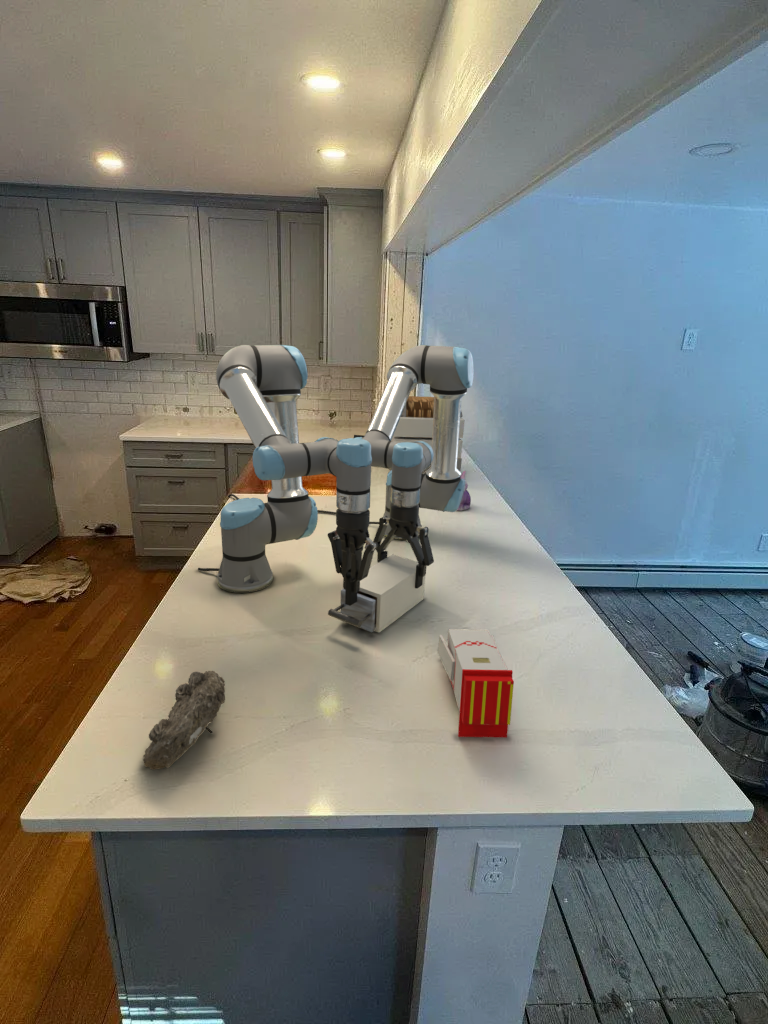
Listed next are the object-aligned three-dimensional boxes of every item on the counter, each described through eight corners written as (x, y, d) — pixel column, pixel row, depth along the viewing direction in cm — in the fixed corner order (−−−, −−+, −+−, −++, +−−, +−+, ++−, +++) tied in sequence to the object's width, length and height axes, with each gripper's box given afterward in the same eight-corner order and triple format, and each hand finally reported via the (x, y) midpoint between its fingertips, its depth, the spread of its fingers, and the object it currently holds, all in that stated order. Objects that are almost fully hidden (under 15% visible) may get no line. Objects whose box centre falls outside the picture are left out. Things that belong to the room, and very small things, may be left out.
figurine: (457, 512, 223) (460, 476, 218) (443, 504, 231) (446, 469, 226) (477, 509, 227) (480, 473, 222) (462, 502, 236) (465, 467, 230)
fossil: (173, 672, 114) (226, 639, 109) (207, 702, 116) (260, 672, 111) (117, 763, 94) (178, 728, 89) (159, 797, 97) (220, 765, 92)
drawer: (358, 642, 132) (359, 610, 130) (326, 629, 137) (326, 598, 134) (415, 600, 153) (416, 572, 150) (385, 589, 158) (386, 562, 155)
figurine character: (364, 456, 306) (364, 446, 320) (364, 442, 303) (365, 433, 317) (351, 455, 306) (352, 446, 320) (352, 442, 303) (353, 433, 316)
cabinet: (379, 632, 139) (380, 594, 135) (344, 618, 144) (344, 581, 141) (423, 598, 156) (426, 564, 152) (391, 587, 161) (392, 553, 158)
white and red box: (488, 613, 130) (523, 677, 101) (484, 667, 133) (517, 744, 104) (435, 612, 130) (455, 676, 101) (432, 666, 133) (451, 743, 103)
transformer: (382, 463, 289) (386, 382, 275) (445, 464, 293) (451, 384, 279) (390, 482, 257) (394, 392, 243) (460, 483, 261) (468, 394, 247)
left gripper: (319, 506, 127) (319, 600, 135) (367, 519, 120) (364, 617, 128) (340, 498, 133) (339, 589, 141) (386, 510, 126) (382, 604, 134)
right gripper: (359, 497, 149) (357, 573, 156) (437, 517, 137) (430, 598, 144) (375, 490, 155) (372, 564, 162) (451, 509, 143) (444, 587, 150)
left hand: (351, 602), depth 134 cm, fingers closed
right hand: (400, 580), depth 153 cm, fingers closed on cabinet, 11 cm apart
